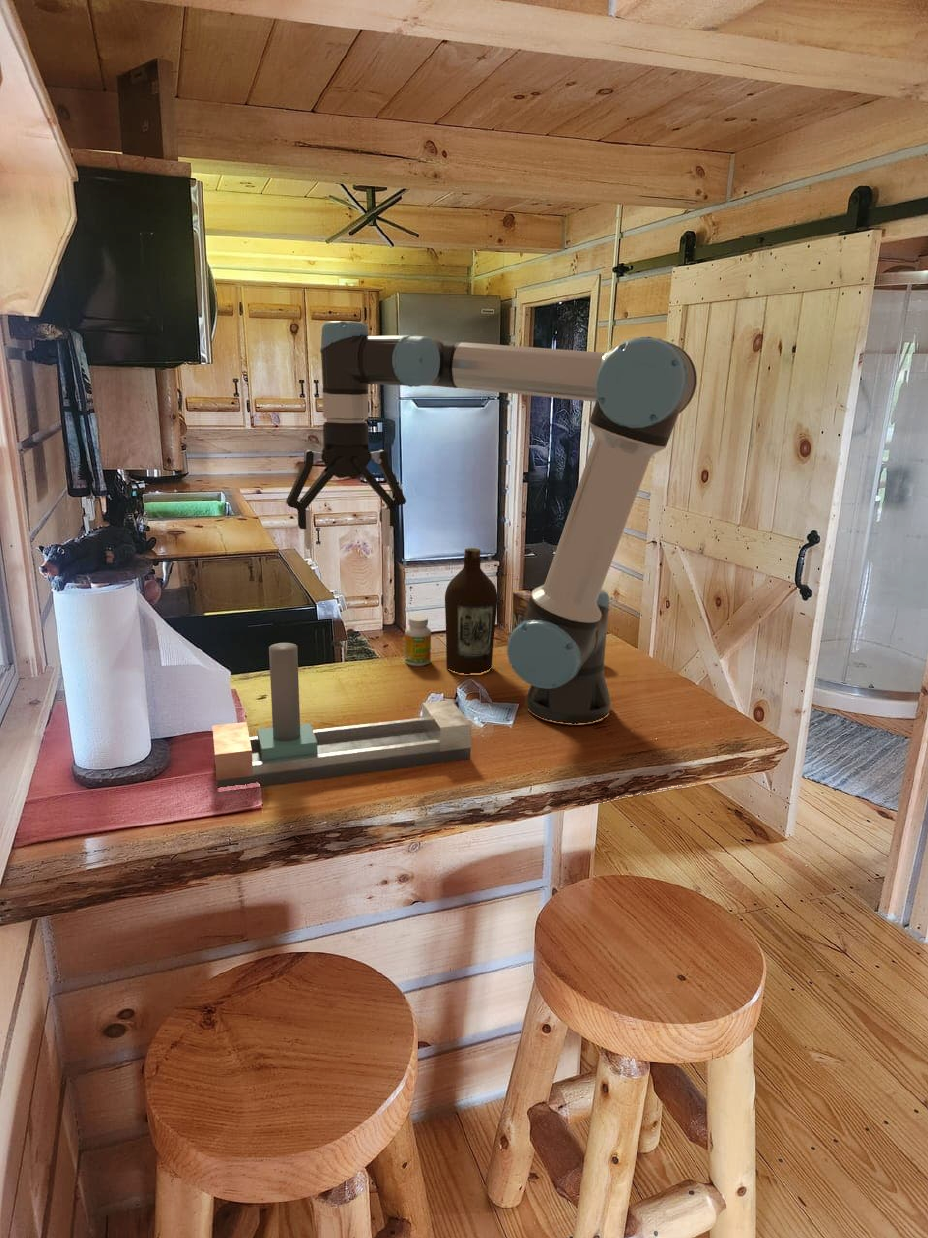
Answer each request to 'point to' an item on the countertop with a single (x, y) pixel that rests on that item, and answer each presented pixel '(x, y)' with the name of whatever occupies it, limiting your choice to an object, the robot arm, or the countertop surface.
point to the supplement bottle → (418, 641)
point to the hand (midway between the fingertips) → (347, 546)
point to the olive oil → (470, 617)
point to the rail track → (347, 749)
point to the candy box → (519, 606)
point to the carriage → (285, 710)
